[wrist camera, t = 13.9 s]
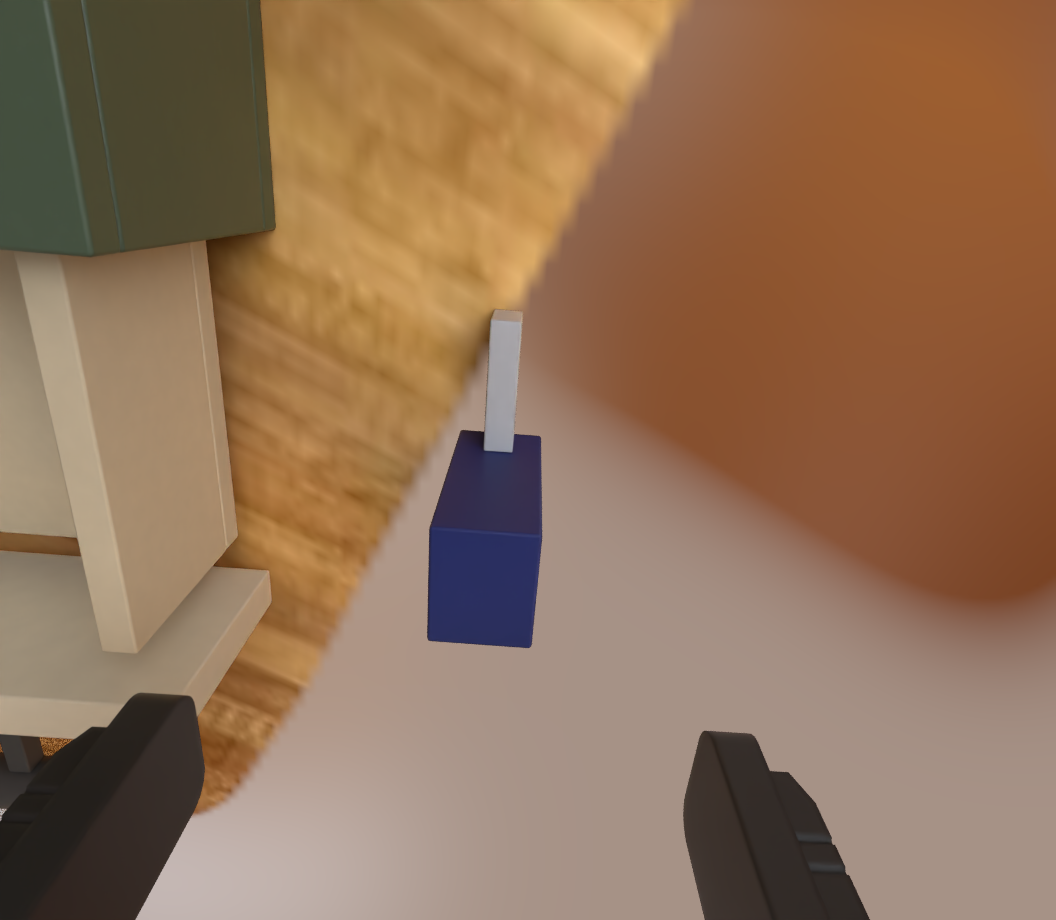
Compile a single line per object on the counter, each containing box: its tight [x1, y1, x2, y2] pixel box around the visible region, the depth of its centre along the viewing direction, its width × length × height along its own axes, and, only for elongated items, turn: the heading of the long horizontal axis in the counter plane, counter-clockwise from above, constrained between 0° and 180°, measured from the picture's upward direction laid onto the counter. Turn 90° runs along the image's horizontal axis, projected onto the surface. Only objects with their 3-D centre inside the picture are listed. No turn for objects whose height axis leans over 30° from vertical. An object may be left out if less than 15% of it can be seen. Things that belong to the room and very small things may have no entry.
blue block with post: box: [427, 309, 542, 648], centre depth 16 cm, size 2×7×6 cm, turn 175°
